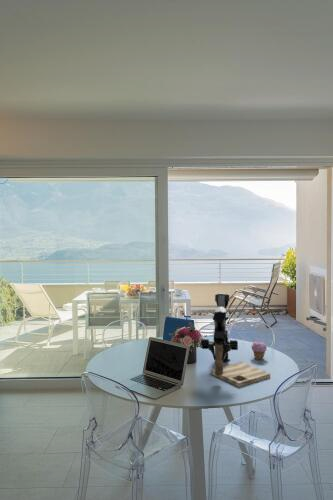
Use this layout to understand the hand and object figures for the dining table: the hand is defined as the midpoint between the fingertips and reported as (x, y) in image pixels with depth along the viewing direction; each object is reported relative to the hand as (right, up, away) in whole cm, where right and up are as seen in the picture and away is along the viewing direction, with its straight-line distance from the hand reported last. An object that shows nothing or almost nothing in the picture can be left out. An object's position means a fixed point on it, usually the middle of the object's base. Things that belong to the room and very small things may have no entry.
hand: (218, 359), depth 204 cm
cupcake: (+29, -10, +38) cm, 49 cm away
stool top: (+13, -11, +12) cm, 21 cm away
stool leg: (0, -7, +2) cm, 8 cm away
